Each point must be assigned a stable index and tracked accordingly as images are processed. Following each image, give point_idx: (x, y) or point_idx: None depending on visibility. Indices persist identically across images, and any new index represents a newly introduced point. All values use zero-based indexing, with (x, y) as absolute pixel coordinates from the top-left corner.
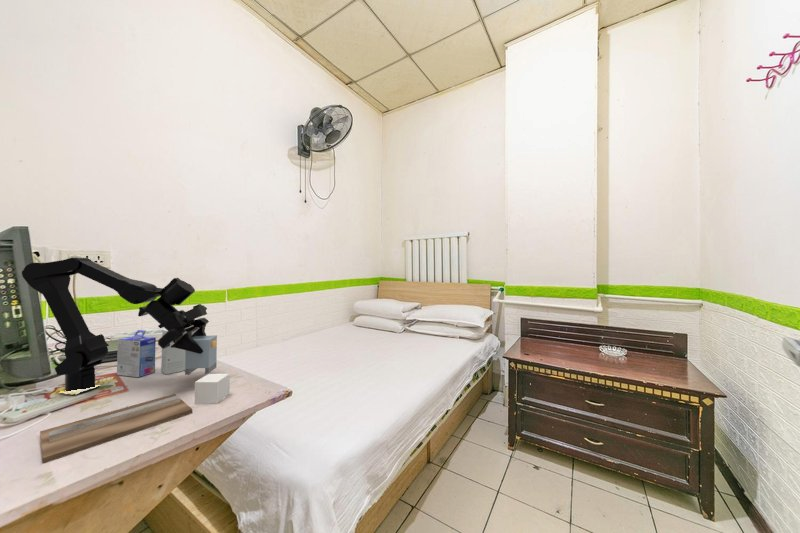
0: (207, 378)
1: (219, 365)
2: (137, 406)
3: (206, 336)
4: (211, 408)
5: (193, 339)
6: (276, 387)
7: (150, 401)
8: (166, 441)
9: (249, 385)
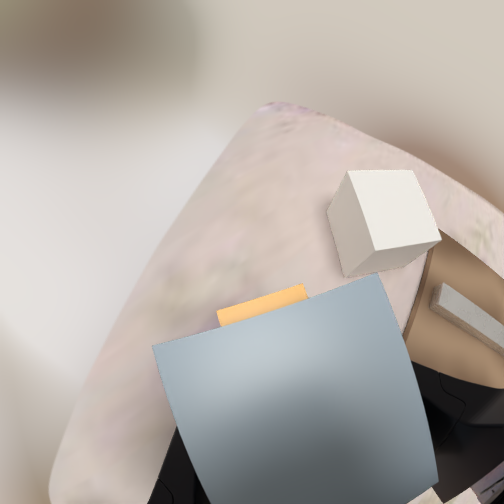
0: (408, 219)
1: (75, 438)
2: None
3: (236, 444)
4: None
5: (448, 409)
6: (252, 121)
7: None
8: (484, 204)
9: (251, 191)
